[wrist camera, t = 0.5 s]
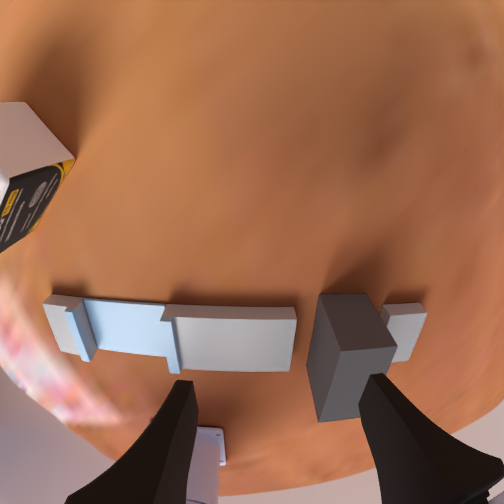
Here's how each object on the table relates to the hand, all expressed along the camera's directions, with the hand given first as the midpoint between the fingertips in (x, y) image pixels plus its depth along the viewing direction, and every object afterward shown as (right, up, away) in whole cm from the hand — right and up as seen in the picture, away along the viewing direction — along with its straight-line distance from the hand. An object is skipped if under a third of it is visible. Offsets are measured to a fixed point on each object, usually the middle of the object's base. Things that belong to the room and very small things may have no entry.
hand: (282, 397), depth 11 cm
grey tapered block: (+5, 0, +11) cm, 12 cm away
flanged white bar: (-3, 0, +11) cm, 11 cm away
